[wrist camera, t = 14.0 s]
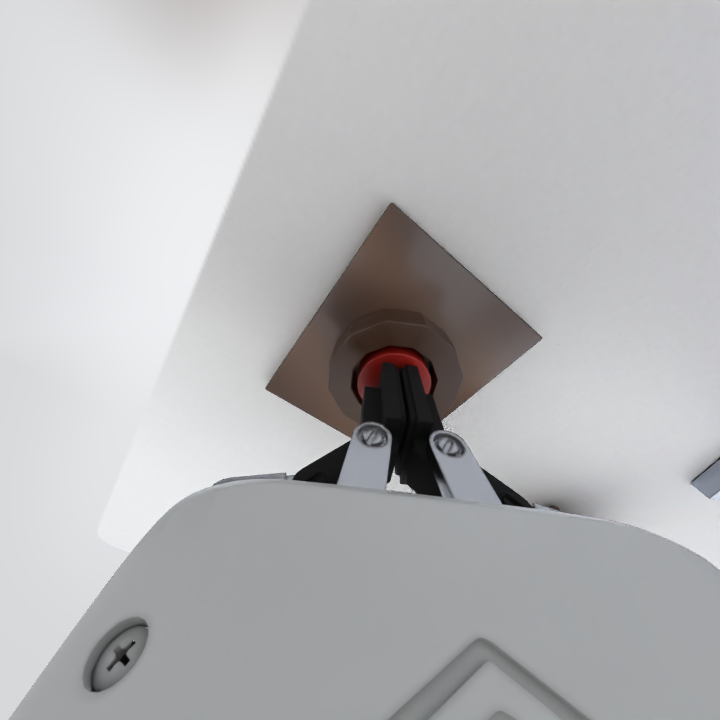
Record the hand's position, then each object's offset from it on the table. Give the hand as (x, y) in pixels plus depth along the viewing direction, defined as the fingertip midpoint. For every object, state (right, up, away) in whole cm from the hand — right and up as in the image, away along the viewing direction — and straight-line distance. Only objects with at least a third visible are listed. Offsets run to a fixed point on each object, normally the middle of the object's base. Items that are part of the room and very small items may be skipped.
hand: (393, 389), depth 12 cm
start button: (0, +1, +2) cm, 2 cm away
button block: (0, +1, +2) cm, 3 cm away
